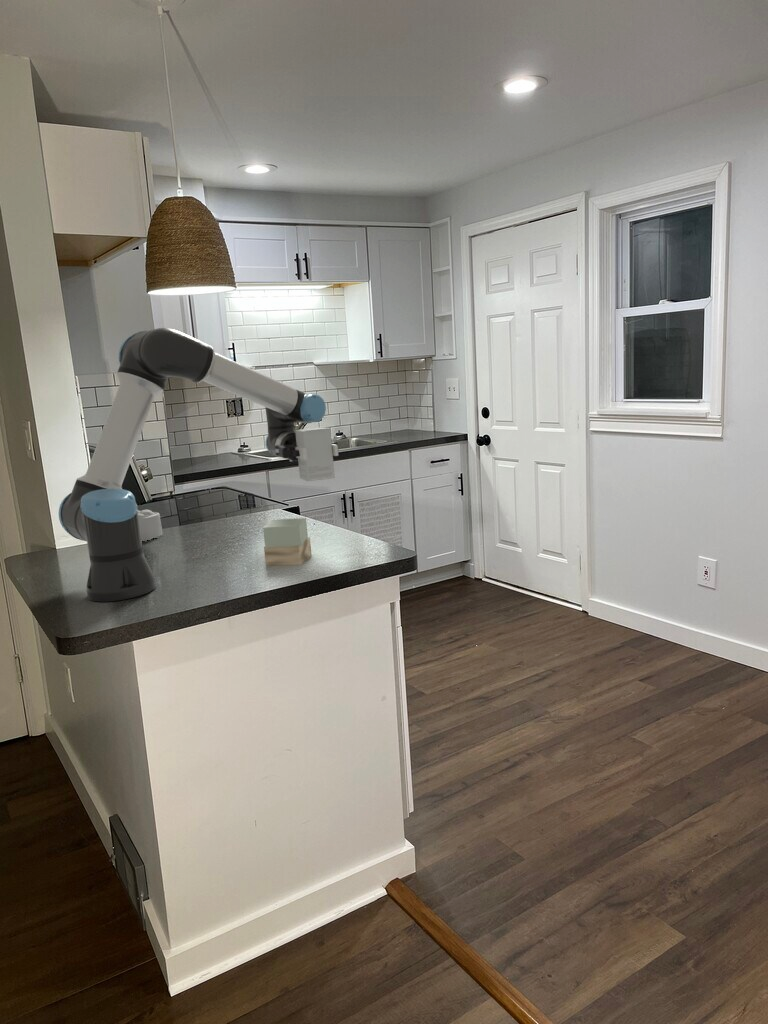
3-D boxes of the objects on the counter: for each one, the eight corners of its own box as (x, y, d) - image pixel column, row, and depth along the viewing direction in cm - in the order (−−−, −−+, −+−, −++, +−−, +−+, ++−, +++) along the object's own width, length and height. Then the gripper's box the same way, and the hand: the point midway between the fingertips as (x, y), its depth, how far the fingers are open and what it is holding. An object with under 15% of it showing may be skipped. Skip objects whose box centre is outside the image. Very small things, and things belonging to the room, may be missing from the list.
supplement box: (335, 478, 190) (331, 427, 188) (306, 482, 188) (302, 430, 185) (326, 475, 197) (322, 426, 195) (299, 478, 194) (294, 429, 192)
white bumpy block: (117, 539, 236) (113, 512, 235) (160, 532, 241) (156, 505, 240) (120, 545, 227) (116, 517, 225) (165, 538, 232) (161, 510, 230)
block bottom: (300, 565, 187) (298, 546, 186) (266, 566, 189) (263, 546, 188) (311, 556, 196) (309, 537, 195) (278, 556, 198) (276, 538, 197)
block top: (301, 545, 187) (299, 525, 186) (265, 547, 187) (263, 527, 186) (307, 536, 195) (305, 517, 194) (273, 538, 196) (271, 520, 195)
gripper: (329, 455, 212) (360, 462, 191) (258, 464, 204) (282, 472, 183) (326, 428, 210) (358, 432, 190) (255, 436, 202) (279, 441, 182)
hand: (321, 452), depth 187 cm, fingers closed on supplement box, 7 cm apart
